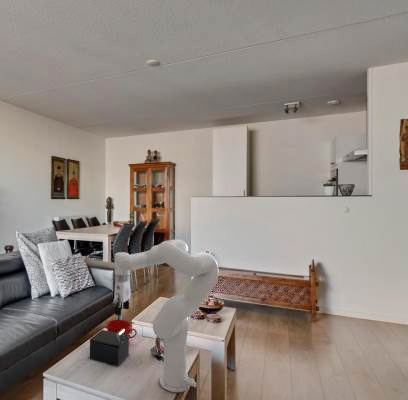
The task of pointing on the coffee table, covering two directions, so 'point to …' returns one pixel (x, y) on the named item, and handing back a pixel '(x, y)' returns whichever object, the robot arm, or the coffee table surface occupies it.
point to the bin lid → (111, 337)
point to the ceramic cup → (120, 326)
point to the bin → (109, 352)
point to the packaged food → (154, 351)
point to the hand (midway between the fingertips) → (122, 311)
